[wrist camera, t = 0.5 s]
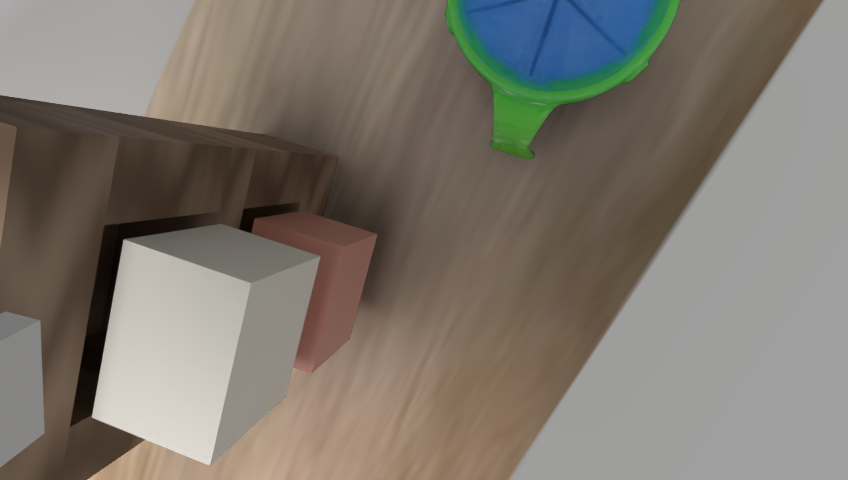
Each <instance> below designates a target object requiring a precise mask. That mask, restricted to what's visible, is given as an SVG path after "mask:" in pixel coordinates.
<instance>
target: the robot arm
mask: <svg viewBox="0 0 848 480" xmlns="http://www.w3.org/2000/svg"><path fill="white" fill-rule="evenodd" d="M44 433H45V430H44V403H43V376H42V350H41V323H40V320H37V319H33V318H29V317H25V316H21V315H17V314H13V313H9V312H3V313H1V314H0V467H2V466H3V465H4V464H5V463H7V462H8V461H9V460H11V459H12V458H13V457H14V456H16V455H17V454H18V453H20V452H21V451H22V450H23V449H25V448H26V447H27V446H29V445H30V444H31V443H32V442H34V441H35V440H36V439H38V438H39V437H40V436H41V435H43V434H44Z"/></svg>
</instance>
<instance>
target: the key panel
mask: <svg viewBox="0 0 848 480" xmlns="http://www.w3.org/2000/svg"><path fill="white" fill-rule="evenodd" d="M337 158H338V157H337V156H334V155H330V154H327V153H323V152H320V151H317V150H313V149H310V148H306V147H303V146H300V145H296V144H293V143H289V142H286V141H283V140H279V139H276V138H272V137H269V136H266V135H262V134H256V133H249V132H242V131H235V130H229V129H222V128H215V127H209V126H202V125H195V124H189V123H182V122H175V121H169V120H162V119H155V118H148V117H141V116H135V115H128V114H122V113H115V112H108V111H102V110H95V109H88V108H82V107H75V106H68V105H61V104H55V103H48V102H41V101H34V100H28V99H21V98H14V97H8V96H1V95H0V314H1V313H3V312H9V313H13V314H17V315H21V316H25V317H29V318H33V319H37V320H40V323H41V350H42V376H43V403H44V430H45V433H44V434H43V435H41V436H40V437H39V438H38V439H36V440H35V441H34V442H32V443H31V444H30V445H29V446H27V447H26V448H25V449H23V450H22V451H21V452H20V453H18V454H17V455H16V456H14V457H13V458H12V459H11V460H9V461H8V462H7V463H5V464H4V465H3V466H2V467H0V480H87V479H89V478H90V477H91V476H93V475H94V474H96V473H97V472H99V471H100V470H102V469H103V468H105V467H106V466H107V465H109V464H110V463H112V462H113V461H115V460H116V459H118V458H119V457H121V456H122V455H123V454H125V453H126V452H128V451H129V450H131V449H132V448H134V447H135V446H137V445H138V444H139V443H141V442H142V441H144V440H145V439H143V438H141V437H138V436H136V435H133V434H131V433H128V432H126V431H123V430H121V429H119V428H116V427H114V426H111V425H109V424H106V423H104V422H101V421H99V420H97V419H94V418H92V413H93V408H94V402H95V397H96V391H97V385H98V380H99V374H100V369H101V363H102V357H103V352H104V346H105V341H106V335H107V330H108V324H109V318H110V313H111V307H112V302H113V296H114V290H115V285H116V279H117V274H118V268H119V263H120V257H121V251H122V246H123V240H124V239H129V238H136V237H142V236H148V235H154V234H161V233H167V232H173V231H179V230H186V229H192V228H198V227H205V226H211V225H217V224H224V225H227V226H230V227H233V228H236V229H239V230H242V231H245V232H248V233H252V228H253V224H254V219H255V218H261V217H267V216H274V215H280V214H286V213H292V212H299V211H306V212H309V213H312V214H315V215H318V216H322V217H323V215H324V211H325V207H326V203H327V199H328V195H329V191H330V187H331V182H332V178H333V174H334V170H335V166H336V162H337Z"/></svg>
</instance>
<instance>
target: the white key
mask: <svg viewBox="0 0 848 480" xmlns="http://www.w3.org/2000/svg"><path fill="white" fill-rule="evenodd" d="M320 257H321V256H318V255H315V254H312V253H309V252H306V251H303V250H300V249H297V248H294V247H291V246H288V245H285V244H282V243H279V242H276V241H272V240H269V239H266V238H263V237H260V236H257V235H254V234H251V233H248V232H245V231H242V230H239V229H236V228H233V227H230V226H227V225H224V224H217V225H211V226H205V227H198V228H192V229H186V230H179V231H173V232H167V233H161V234H154V235H148V236H142V237H136V238H129V239H124V240H123V246H122V251H121V257H120V263H119V268H118V274H117V279H116V285H115V290H114V296H113V302H112V307H111V313H110V318H109V324H108V330H107V335H106V341H105V346H104V352H103V357H102V363H101V369H100V374H99V380H98V385H97V391H96V397H95V402H94V408H93V413H92V418H94V419H97V420H99V421H101V422H104V423H106V424H109V425H111V426H114V427H116V428H119V429H121V430H123V431H126V432H128V433H131V434H133V435H136V436H138V437H141V438H143V439H145V440H148V441H150V442H153V443H155V444H158V445H160V446H163V447H165V448H167V449H170V450H172V451H175V452H177V453H180V454H182V455H185V456H187V457H189V458H192V459H194V460H197V461H199V462H202V463H204V464H207V465H209V466H210V465H211V464H212V463H214V462H215V461H216V460H217V459H218V458H219V457H220V456H221V455H222V454H224V453H225V452H226V451H227V450H228V449H229V448H230V447H231V446H232V445H233V444H235V443H236V442H237V441H238V440H239V439H240V438H241V437H242V436H243V435H244V434H246V433H247V432H248V431H249V430H250V429H251V428H252V427H253V426H254V425H255V424H257V423H258V422H259V421H260V420H261V419H262V418H263V417H264V416H265V415H266V414H268V413H269V412H270V411H271V410H272V409H273V408H274V407H275V406H276V405H277V404H279V403H280V402H281V401H282V400H283V399H284V398H285V397H286V394H287V390H288V386H289V381H290V377H291V373H292V369H293V365H294V361H295V357H296V353H297V349H298V345H299V341H300V337H301V333H302V329H303V325H304V321H305V317H306V313H307V309H308V305H309V301H310V297H311V293H312V289H313V285H314V281H315V277H316V273H317V269H318V265H319V261H320Z"/></svg>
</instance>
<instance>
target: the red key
mask: <svg viewBox="0 0 848 480" xmlns="http://www.w3.org/2000/svg"><path fill="white" fill-rule="evenodd" d="M251 234H254V235H257V236H260V237H263V238H266V239H269V240H272V241H276V242H279V243H282V244H285V245H288V246H291V247H294V248H297V249H300V250H303V251H306V252H309V253H312V254H315V255H318V256H321V257H320V261H319V265H318V269H317V273H316V277H315V281H314V285H313V289H312V293H311V297H310V301H309V305H308V309H307V313H306V317H305V321H304V325H303V329H302V333H301V337H300V341H299V345H298V349H297V353H296V357H295V361H294V365H293V367H295V368H298V369H301V370H303V371H306V372H309V373H311V374H312V373H313V372H314V371H315V370H316V369H317V368H318V367H319V366H320V365H321V364H323V363H324V362H325V361H326V360H327V359H328V358H329V357H330V356H331V355H332V354H334V353H335V352H336V351H337V350H338V349H339V348H340V347H341V346H342V345H343V344H345V343H346V342H347V341H348V340H349V339H350V336H351V332H352V328H353V324H354V321H355V317H356V313H357V309H358V306H359V302H360V298H361V294H362V291H363V287H364V283H365V279H366V276H367V272H368V268H369V264H370V261H371V257H372V253H373V249H374V246H375V242H376V238H377V234H376V233H373V232H369V231H366V230H363V229H360V228H357V227H353V226H350V225H347V224H344V223H341V222H338V221H334V220H331V219H328V218H325V217H322V216H318V215H315V214H312V213H309V212H306V211H299V212H292V213H286V214H280V215H274V216H267V217H261V218H255V219H254V224H253V228H252V233H251Z"/></svg>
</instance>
